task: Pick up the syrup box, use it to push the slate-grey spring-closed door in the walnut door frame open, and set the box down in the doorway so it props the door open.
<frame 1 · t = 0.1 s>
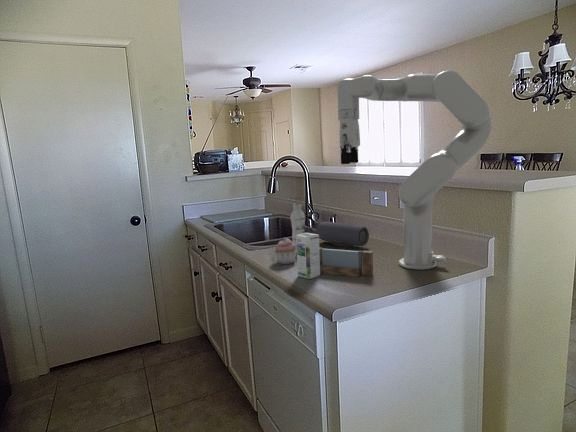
hand: (349, 163, 140), 37 cm above the countertop, tool pointing down, fingers open, 9 cm apart
cupcake: (286, 262, 147), on the countertop
plastic bottle: (299, 250, 164), on the countertop
door frame: (341, 272, 131), on the countertop
syrup box: (309, 276, 130), on the countertop
door: (342, 260, 131), point 4 cm above the countertop, hinge at 0.0°
bluetooth speaker: (342, 245, 168), on the countertop
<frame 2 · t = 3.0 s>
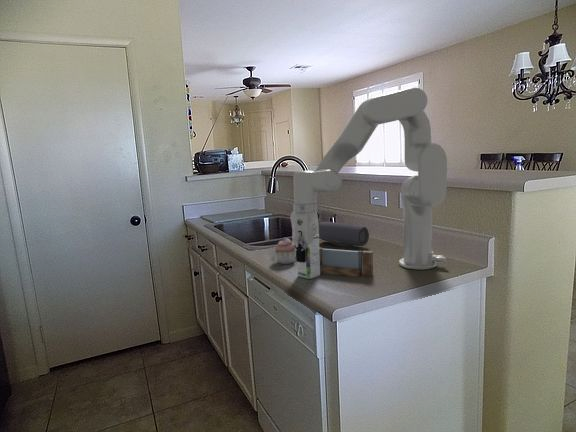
hand: (307, 258, 128), 6 cm above the countertop, tool pointing down, fingers open, 9 cm apart
nothing on the countertop moved.
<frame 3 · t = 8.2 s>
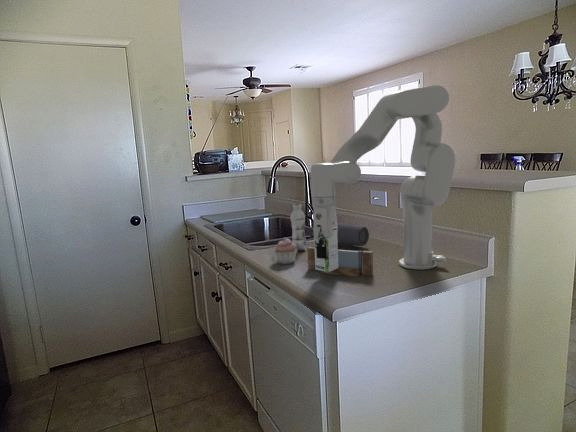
hand: (326, 254, 125), 8 cm above the countertop, tool pointing down, fingers closed on syrup box, 7 cm apart
syrup box: (327, 269, 126), point 3 cm above the countertop, touching gripper
everything else where it was.
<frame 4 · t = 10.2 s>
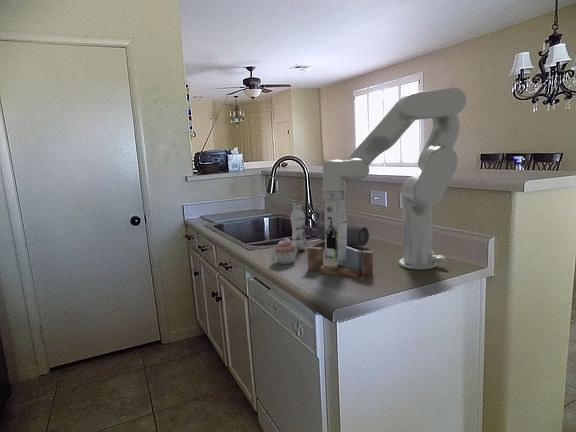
hand: (335, 245, 134), 9 cm above the countertop, tool pointing down, fingers closed on syrup box, 7 cm apart
syrup box: (335, 259, 134), point 3 cm above the countertop, touching door, gripper
door: (349, 257, 133), point 4 cm above the countertop, hinge at 38.8°, touching syrup box
everything else where it was.
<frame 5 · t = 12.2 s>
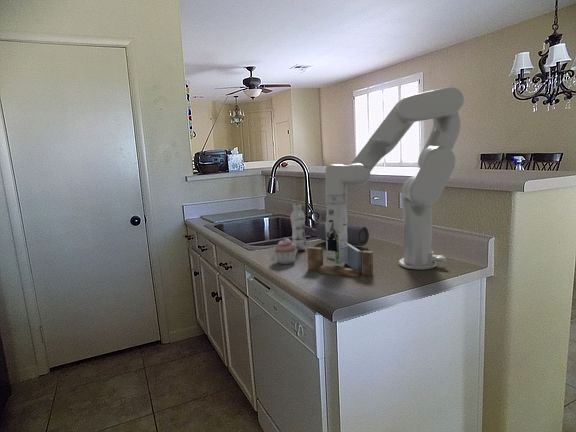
hand: (336, 247, 137), 7 cm above the countertop, tool pointing down, fingers closed on syrup box, 7 cm apart
syrup box: (337, 261, 137), point 2 cm above the countertop, touching gripper
door: (353, 257, 134), point 4 cm above the countertop, hinge at 50.8°, touching gripper
everything else where it was.
when the fingers open (7 cm above the countertop, at t = 12.7 s): syrup box drops 2 cm, on the countertop.
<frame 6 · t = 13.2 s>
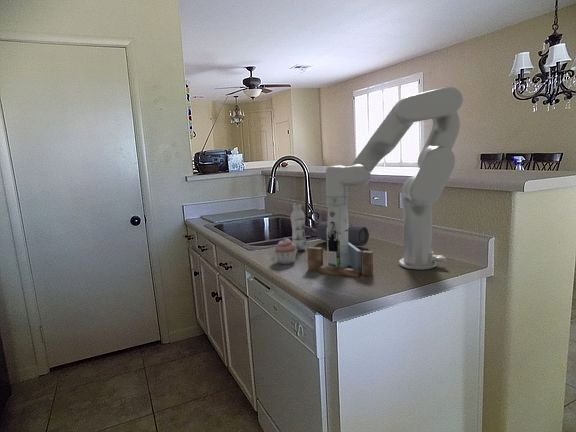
hand: (337, 247, 137), 7 cm above the countertop, tool pointing down, fingers open, 9 cm apart
syrup box: (338, 267, 138), on the countertop
door: (354, 257, 134), point 4 cm above the countertop, hinge at 54.3°, touching gripper
everything else where it was.
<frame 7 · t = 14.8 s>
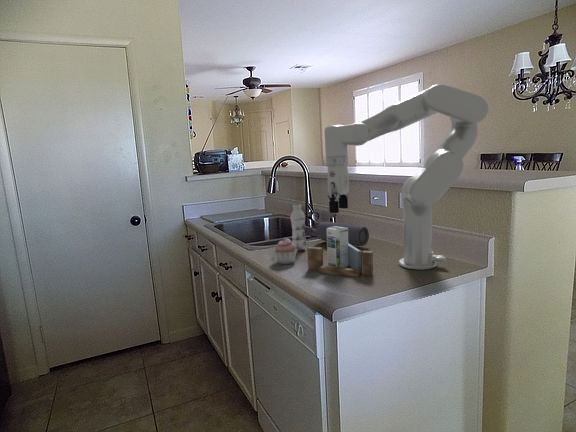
hand: (339, 210, 134), 21 cm above the countertop, tool pointing down, fingers open, 9 cm apart
syrup box: (338, 267, 138), on the countertop, touching door
door: (353, 257, 134), point 4 cm above the countertop, hinge at 51.3°, touching syrup box
everything else where it was.
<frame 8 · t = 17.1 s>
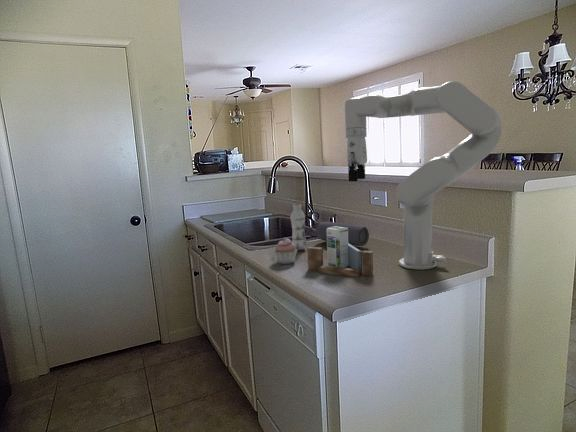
hand: (357, 180, 142), 30 cm above the countertop, tool pointing down, fingers open, 9 cm apart
nothing on the countertop moved.
at the end: door at +51° (first picture: +0°); syrup box inside the target area (0.9 cm from its centre), on the countertop; syrup box tilted 0° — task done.
